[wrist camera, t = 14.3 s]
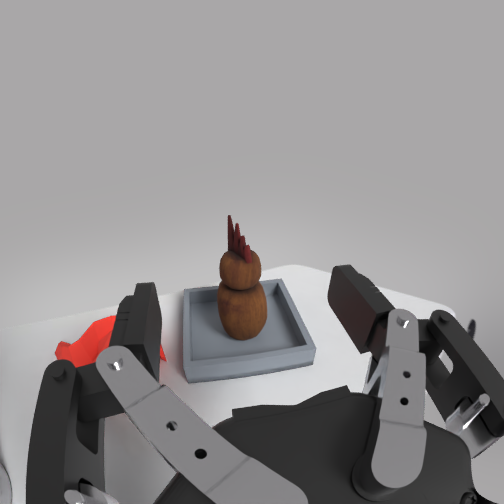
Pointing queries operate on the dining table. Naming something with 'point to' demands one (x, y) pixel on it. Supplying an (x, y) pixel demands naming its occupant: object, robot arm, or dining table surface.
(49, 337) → the dining table surface
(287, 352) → the slate dish
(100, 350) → the animal figurine
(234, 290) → the wooden figurine
